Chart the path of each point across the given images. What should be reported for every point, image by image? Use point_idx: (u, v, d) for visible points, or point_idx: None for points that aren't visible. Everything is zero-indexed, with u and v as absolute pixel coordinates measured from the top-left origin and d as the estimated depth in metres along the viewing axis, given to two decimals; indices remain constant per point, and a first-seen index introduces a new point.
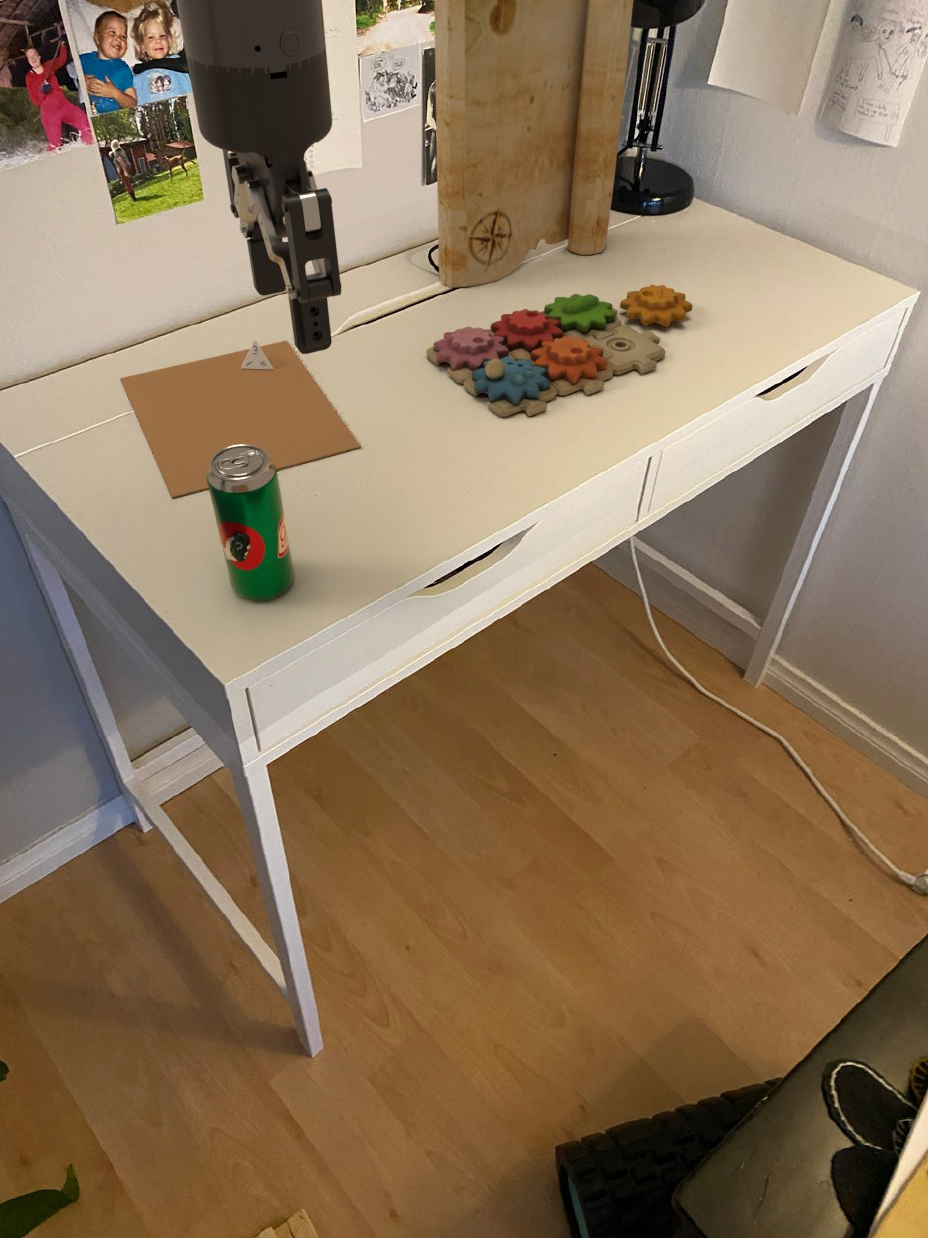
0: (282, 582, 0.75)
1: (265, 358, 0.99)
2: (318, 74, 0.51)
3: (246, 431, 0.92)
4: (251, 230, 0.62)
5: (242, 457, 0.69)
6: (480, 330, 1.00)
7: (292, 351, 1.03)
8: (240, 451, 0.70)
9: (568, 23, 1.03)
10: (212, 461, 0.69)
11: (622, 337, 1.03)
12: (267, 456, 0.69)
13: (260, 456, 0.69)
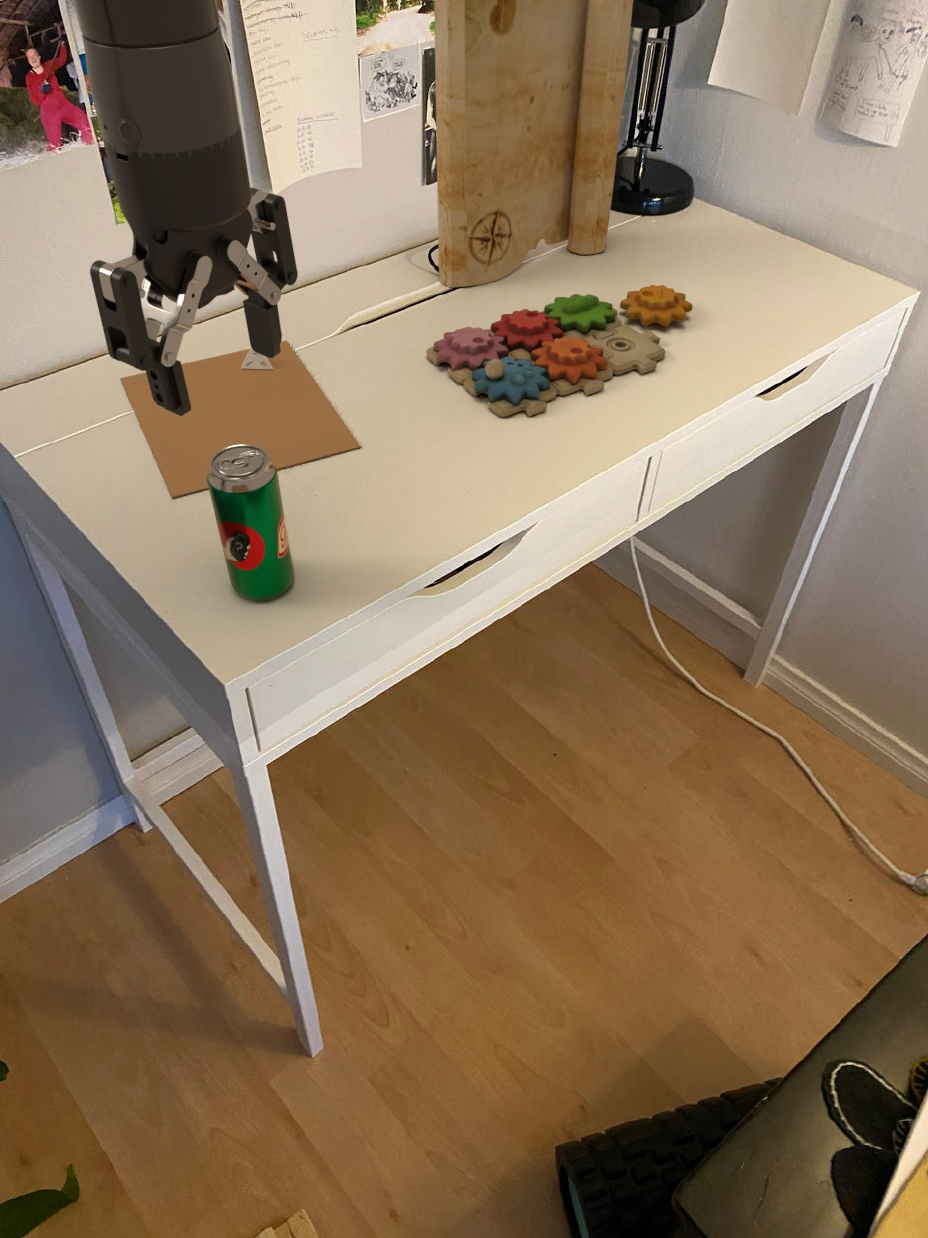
0: (282, 582, 0.75)
1: (265, 358, 0.99)
2: (169, 170, 0.51)
3: (246, 431, 0.92)
4: (242, 290, 0.63)
5: (242, 457, 0.69)
6: (480, 330, 1.00)
7: (292, 351, 1.03)
8: (240, 451, 0.70)
9: (568, 23, 1.03)
10: (212, 461, 0.69)
11: (622, 337, 1.03)
12: (267, 456, 0.69)
13: (260, 456, 0.69)
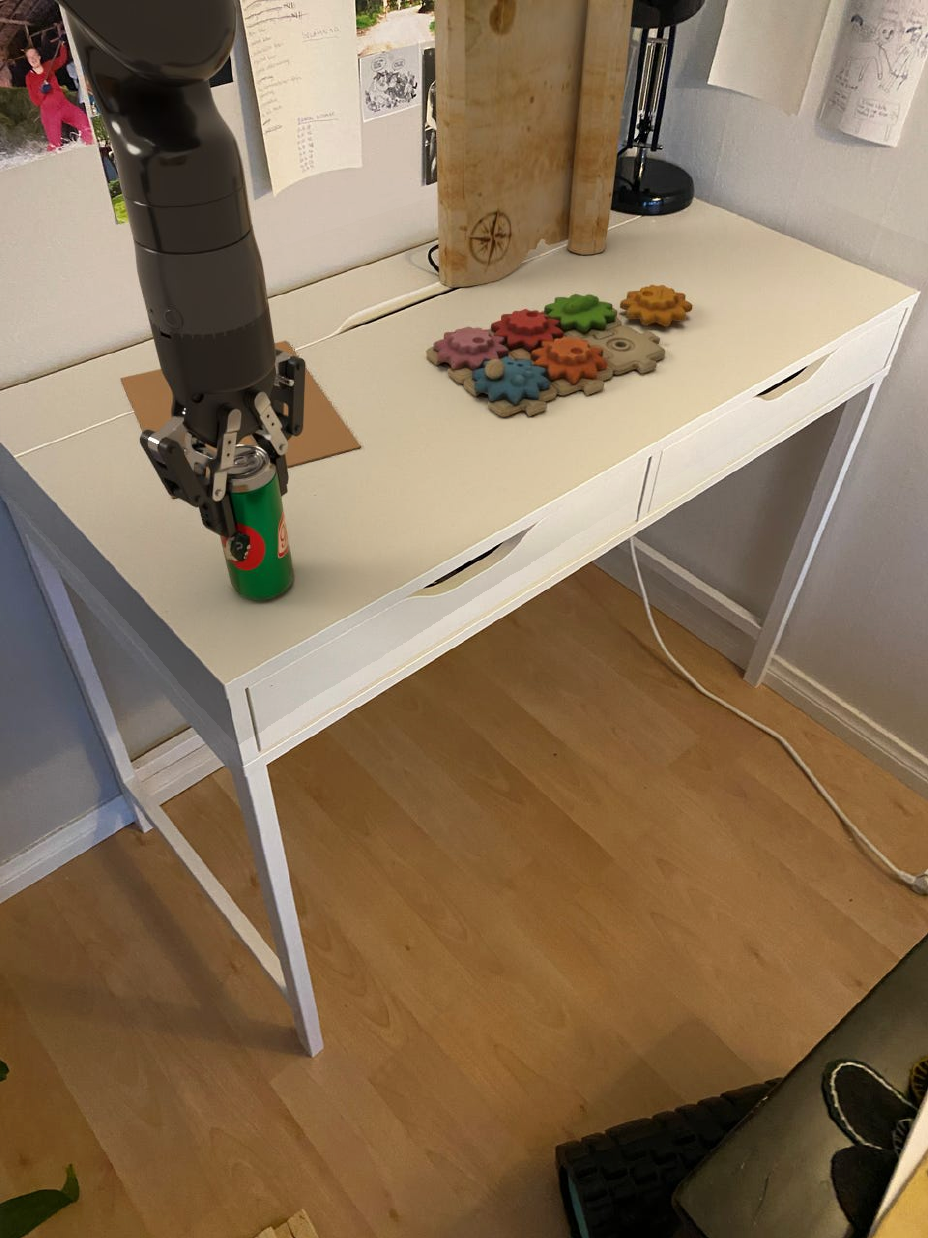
0: (282, 582, 0.75)
1: None
2: (207, 348, 0.58)
3: None
4: (253, 439, 0.70)
5: (242, 457, 0.69)
6: (480, 330, 1.00)
7: (292, 351, 1.03)
8: (240, 451, 0.70)
9: (568, 23, 1.03)
10: None
11: (622, 337, 1.03)
12: (267, 456, 0.69)
13: (260, 456, 0.69)
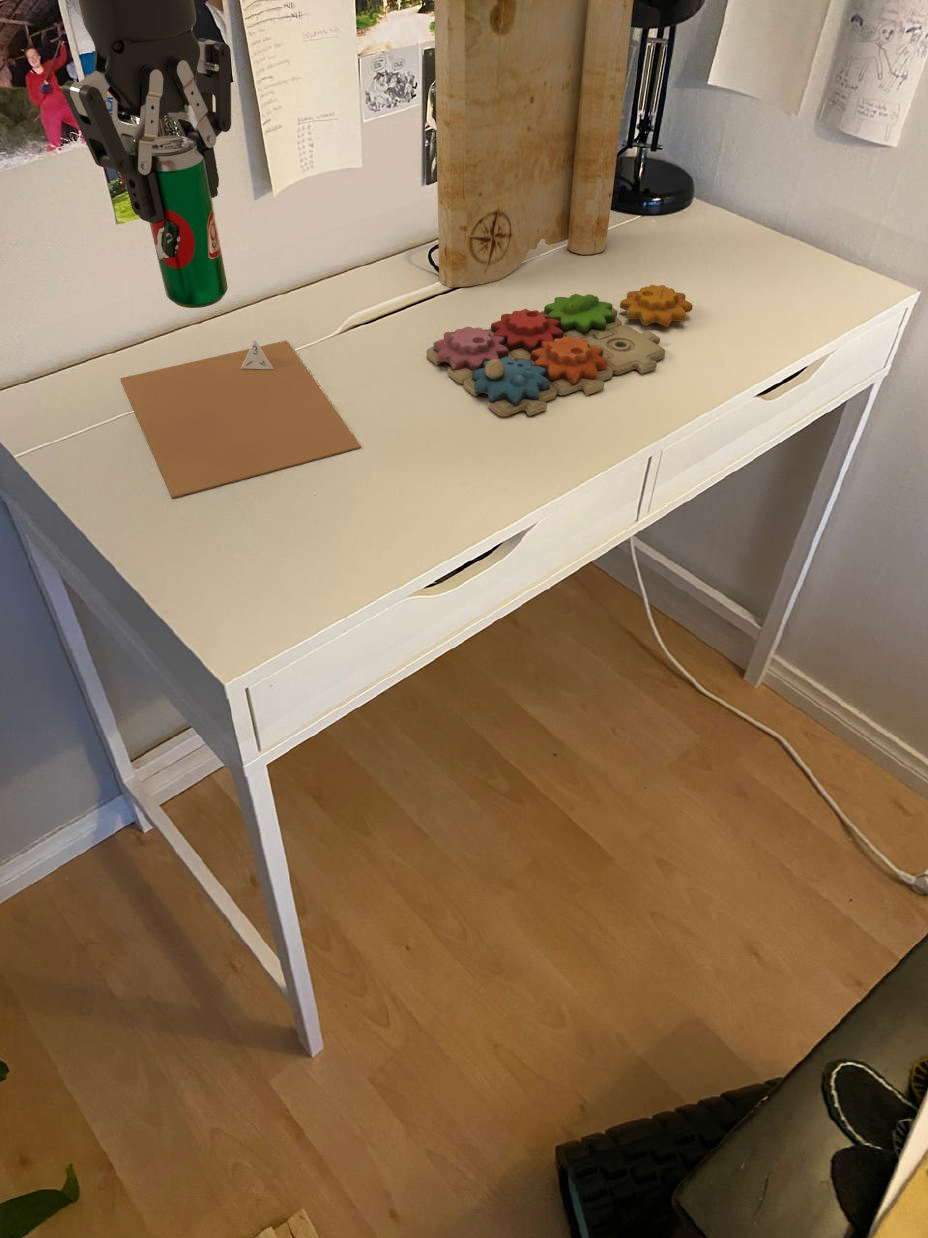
0: (214, 288, 0.78)
1: (265, 358, 0.99)
2: None
3: (246, 431, 0.92)
4: (182, 131, 0.73)
5: (170, 143, 0.72)
6: (480, 330, 1.00)
7: (292, 351, 1.03)
8: (169, 139, 0.72)
9: (568, 23, 1.03)
10: None
11: (622, 337, 1.03)
12: (194, 142, 0.72)
13: (188, 142, 0.72)
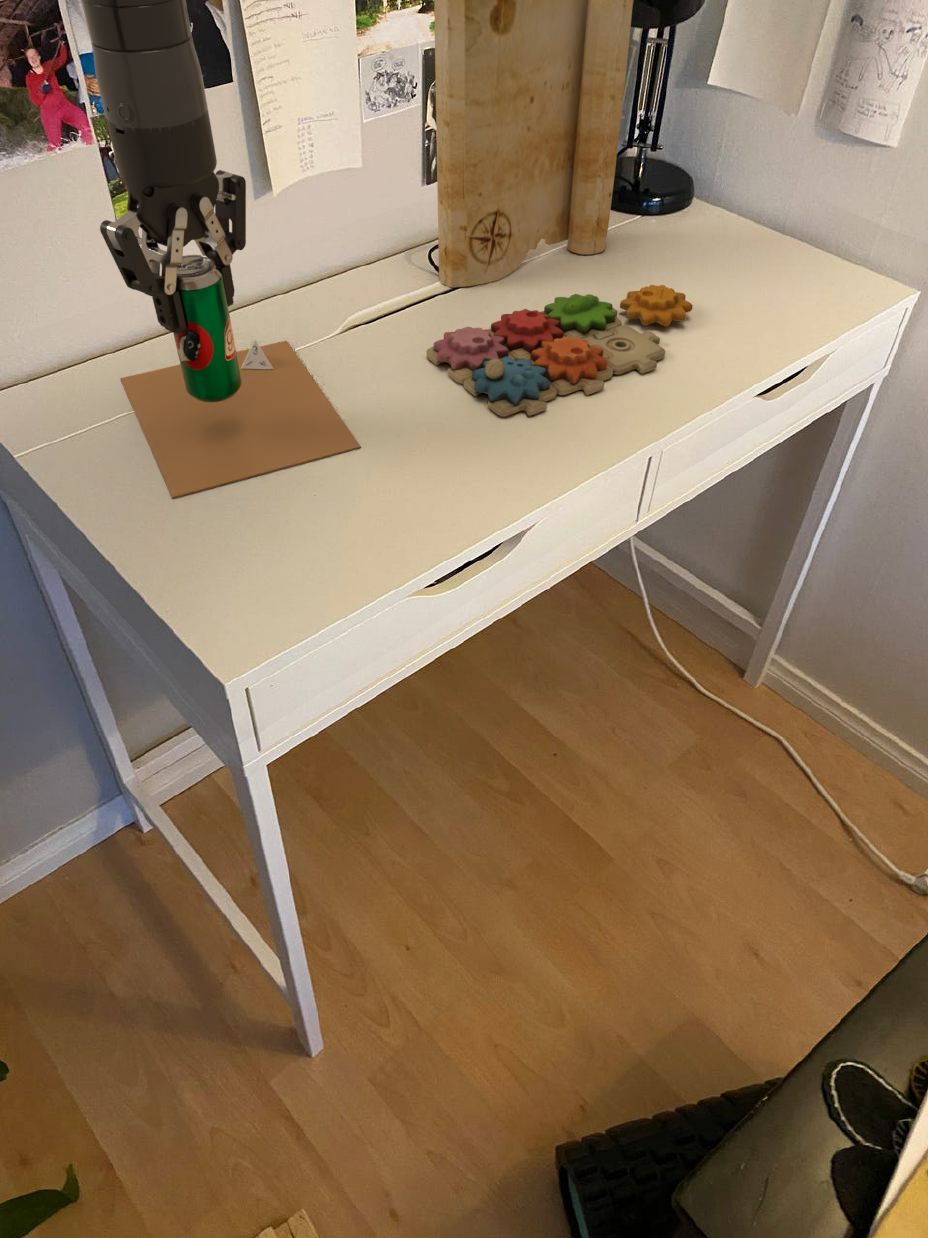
0: (230, 385, 0.86)
1: (265, 358, 0.99)
2: (154, 141, 0.70)
3: (246, 431, 0.92)
4: (202, 250, 0.82)
5: (192, 263, 0.81)
6: (480, 330, 1.00)
7: (292, 351, 1.03)
8: (190, 259, 0.81)
9: (568, 23, 1.03)
10: None
11: (622, 337, 1.03)
12: (213, 262, 0.81)
13: (208, 262, 0.81)
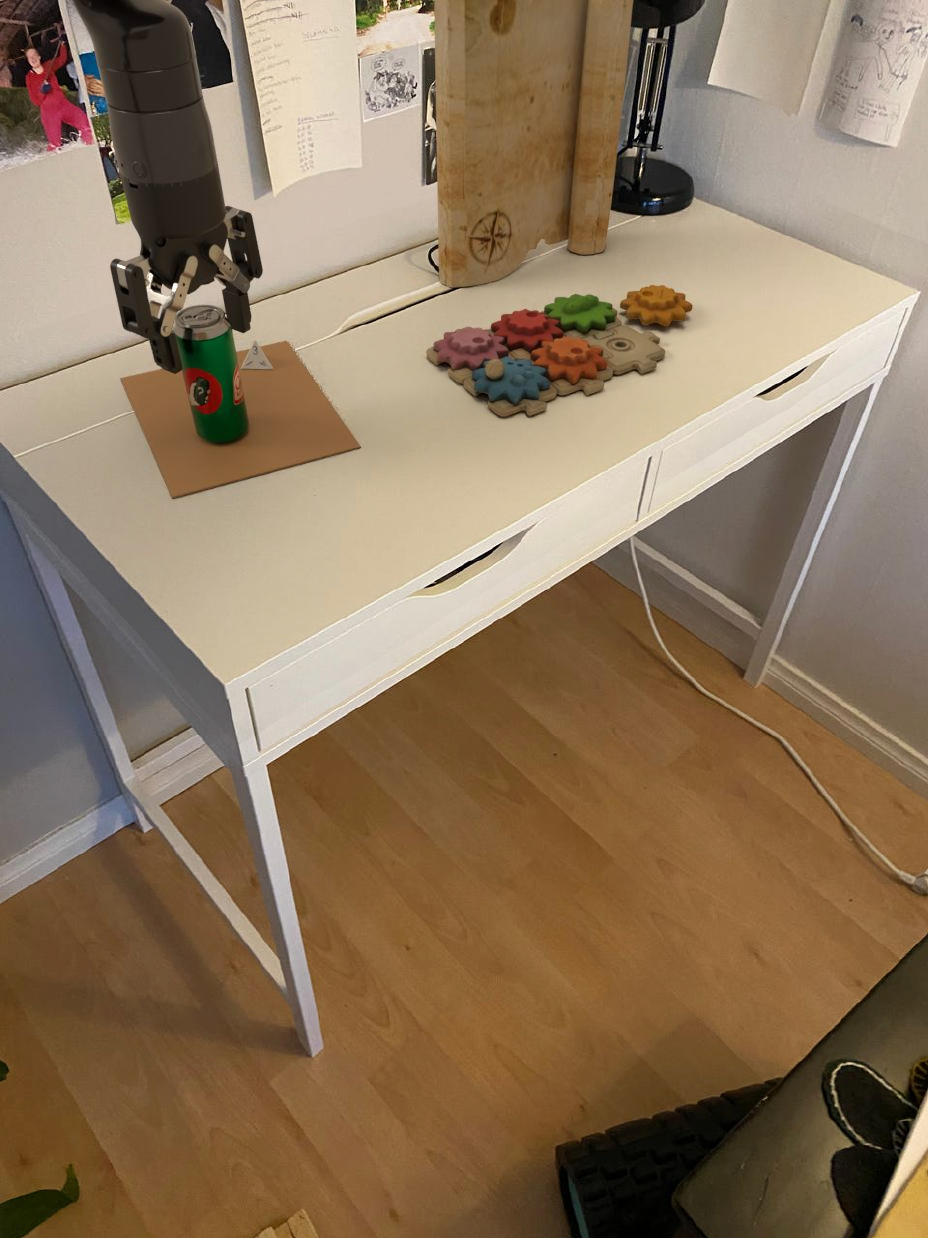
0: (238, 428, 0.90)
1: (265, 358, 0.99)
2: (167, 196, 0.73)
3: (246, 431, 0.92)
4: (221, 281, 0.85)
5: (202, 313, 0.84)
6: (480, 330, 1.00)
7: (292, 351, 1.03)
8: (200, 309, 0.84)
9: (568, 23, 1.03)
10: (177, 316, 0.83)
11: (622, 337, 1.03)
12: (223, 312, 0.84)
13: (217, 312, 0.84)
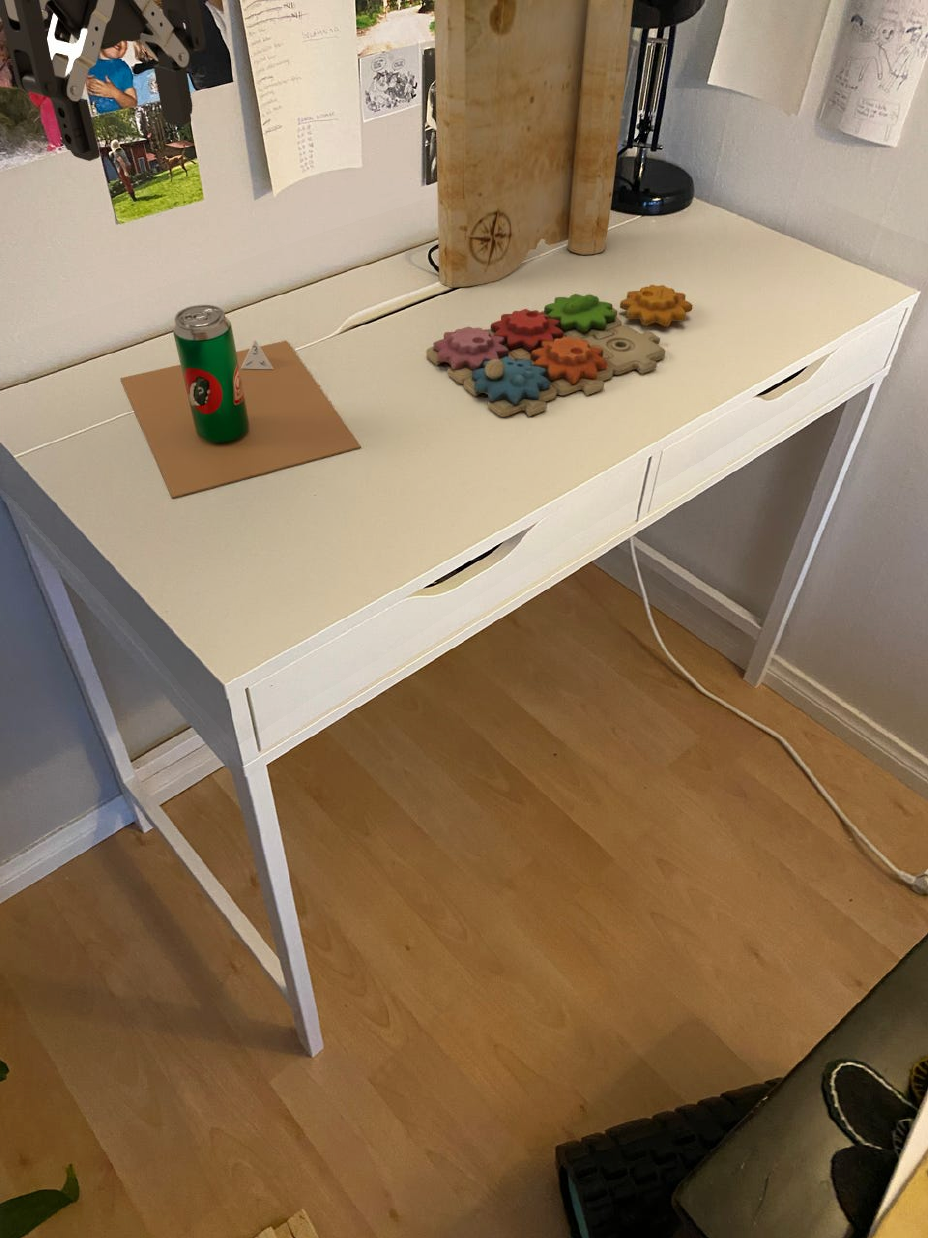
0: (238, 428, 0.90)
1: (265, 358, 0.99)
2: None
3: (246, 431, 0.92)
4: (151, 52, 0.67)
5: (202, 313, 0.84)
6: (480, 330, 1.00)
7: (292, 351, 1.03)
8: (200, 309, 0.84)
9: (568, 23, 1.03)
10: (177, 316, 0.83)
11: (622, 337, 1.03)
12: (223, 312, 0.84)
13: (217, 312, 0.84)
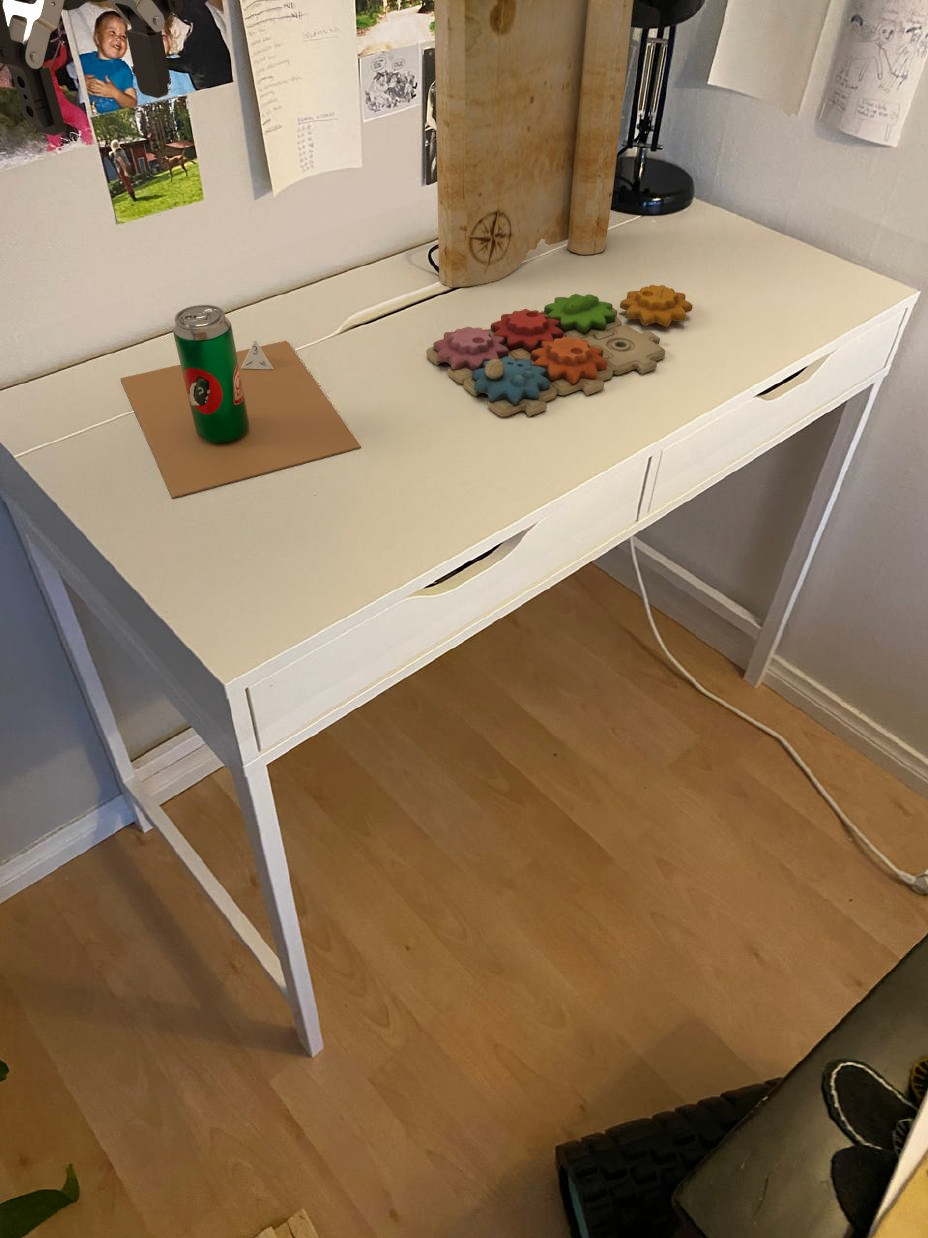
0: (238, 428, 0.90)
1: (265, 358, 0.99)
2: None
3: (246, 431, 0.92)
4: (123, 16, 0.61)
5: (202, 313, 0.84)
6: (480, 330, 1.00)
7: (292, 351, 1.03)
8: (200, 309, 0.84)
9: (568, 23, 1.03)
10: (177, 316, 0.83)
11: (622, 337, 1.03)
12: (223, 312, 0.84)
13: (217, 312, 0.84)
